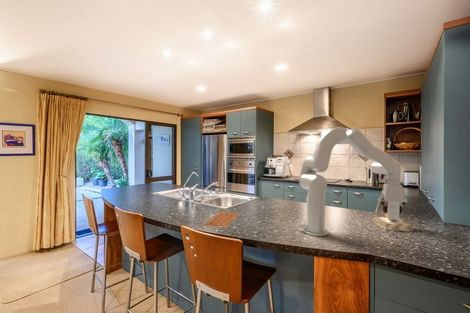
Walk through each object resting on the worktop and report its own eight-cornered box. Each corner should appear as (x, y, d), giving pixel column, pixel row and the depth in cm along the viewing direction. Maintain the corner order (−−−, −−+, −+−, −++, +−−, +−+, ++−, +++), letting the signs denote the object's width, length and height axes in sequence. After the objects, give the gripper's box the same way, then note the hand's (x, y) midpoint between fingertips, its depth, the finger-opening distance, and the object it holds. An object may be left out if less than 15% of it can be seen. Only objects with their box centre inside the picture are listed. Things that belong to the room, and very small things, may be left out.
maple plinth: (385, 230, 125) (385, 223, 125) (374, 222, 138) (374, 216, 138) (413, 231, 123) (413, 224, 123) (398, 223, 136) (398, 217, 136)
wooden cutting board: (238, 215, 158) (238, 213, 158) (226, 228, 129) (226, 225, 129) (219, 213, 162) (219, 211, 162) (203, 226, 133) (203, 223, 133)
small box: (385, 215, 135) (385, 198, 135) (396, 216, 133) (396, 199, 133) (387, 219, 128) (387, 200, 128) (399, 220, 126) (399, 201, 126)
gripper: (379, 182, 128) (379, 213, 128) (412, 183, 125) (412, 215, 125) (373, 181, 135) (373, 210, 135) (404, 182, 133) (404, 211, 133)
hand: (392, 212), depth 130 cm, fingers closed on small box, 6 cm apart
